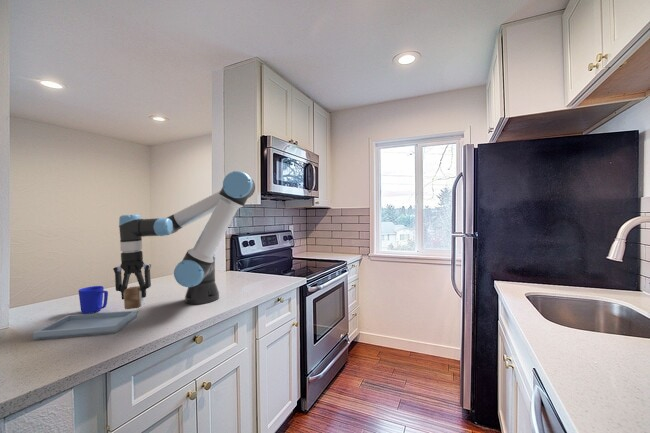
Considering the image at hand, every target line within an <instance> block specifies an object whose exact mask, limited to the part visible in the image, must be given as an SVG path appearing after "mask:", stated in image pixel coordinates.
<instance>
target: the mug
mask: <svg viewBox="0 0 650 433" xmlns="http://www.w3.org/2000/svg"><path fill="white" fill-rule="evenodd" d="M104 288H105V287H104V286H102V285H93V286H88V287H82V288H80V289H78V296H79V297H78V298H79V306H80V312H81V313H82V314H93V313H99V311H101V310H103V309H104V308H106V307H107V304H108V300H109V299H108V296H109V291H108V290H104Z"/></svg>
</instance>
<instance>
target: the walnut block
mask: <svg viewBox="0 0 650 433" xmlns="http://www.w3.org/2000/svg"><path fill="white" fill-rule="evenodd" d="M140 290H141V289H140V286H138V285H137V286H129V287H127V289H125V290H124V299H125V308H124V310H132V309H139V308H141V307H142V306H140V302H139V291H140Z"/></svg>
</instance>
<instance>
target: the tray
mask: <svg viewBox="0 0 650 433" xmlns="http://www.w3.org/2000/svg"><path fill="white" fill-rule="evenodd" d="M137 314H138V312H137V310H123V311H122V310H121V311H111V312H110V311H107V312H95V313H89V314H84V313H82V314H67V315H66V316H64V317H62V318H60V319H57V320H56V321H54V322H51V323H50V324H47V325H46V326H44V327H42V328H40V329H38V330H36V331H34V332H33V333H32V334H33V340H34V341H37V340H38V341H39V340H52V339H61V338H62V339H65V338H74V337H86V336H98V334H100V335H109V333H112V334H116V333H117V332H118V331H120V330H122V329H123V328H124V327H125V326H127V325H128V324H129V323H130V322H132V321H133V320H134V319H136V318H137V316H138V315H137ZM122 327H123V328H122Z"/></svg>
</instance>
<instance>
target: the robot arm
mask: <svg viewBox="0 0 650 433" xmlns="http://www.w3.org/2000/svg"><path fill="white" fill-rule="evenodd" d="M255 190H256V184H255V181H254V180H253V179H252V178H251V176H250V175H249V174H248V173H246V172H244V171H241V170H234V171H231V172H229V173H227V174H226V175H225V177H224V178H223V181H222V187H221V189H220V190H219V191H217V192H215V193H213V194H211V195H209V196H207V197H205V198H203V199H201V200H199V201H197V202H195V203H193V204H191V205H189V206H186V207H185V208H183V209H181V210H179V211H177V212H175V213H173V214H171V215H168V216H167V217H158V218H157V217H156V218H141V217H142V216H141V215H140V214H122V215H120V216H119V222H118V228H119V244H120V245H119V246H120V252H121V253H120V260H121V264H120V265H119V266H115V267H114V268H112V270H113V272H114V282H115V291H116V292H120V293H121V294H120V295H121V300H123V301H124V302H123V304H124V305H123V306H124V309H125V299H124V290H125V289H127V288H128V286H129V281H130V277H131V275H132V274H134V275H135V277H136V280H137V283H138V285H139V286H140V289H141V290H140V291H139V302H140V306H141V307H143V306H144V305H145V298H146V297H147V289H149V288H151V287H152V280H151V268H152V264H146V263H145V262H144V260H143V259H144V255H143V251H142V250H143V241H142V240H143V238H144V237H159V236H160V237H164V236H165V237H166V236H170V235H173V234H174V233H177V232H178V231H180V230H181V229H183V228H185V227H187V226H188V225H190V224H193V223H194V222H197V221H199V220H201V219H202V218H204V217H206V216H208V215H210V217H209V219H208V220H207V222H206V225H204V228H203V230H202V231H201V233H200V236H199V238H198V239H197V241H196V242H195V244H194V246H193V248H189V249H188V250H187V251H186V253H185V255H184V257H183V258H182V260H181V261H179V262H178V263H177V265H175V268H174V269H173V277H174V280H175V282H177V284H178V285H180V286H182V287H185V288H187V290H186V292H185V295H184V303H186V304H189V305H200V304H207V303H213V302H215V301H217V300H218V299H220V291H219V289H218V287H217V286H218V285H217V283H216V263H215V262H216V257H215V256H216V255H215V252H216V250H217V248H218V247H219V245H220V243H221V241H222V239H223V237H224V235H225V234H226V232H227V230H228V228H229V227H230V225H231V223H232V221H233V220H234V218H235V216H236V214H237V212H238V210H239V209H241V208H243V207H245V204H246V203H247V200H248V199H249V198H251V197H252V196H253V195H254V193H255ZM142 269H143V271H144V273H143V272H142ZM122 270H123V271H124V272H123V277H122ZM143 274H144V277H143ZM122 278H123V279H122Z"/></svg>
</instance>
